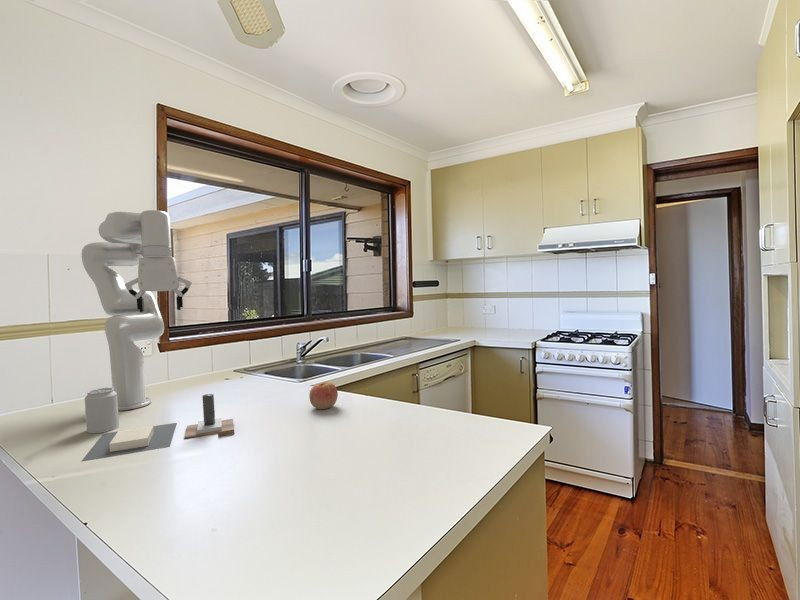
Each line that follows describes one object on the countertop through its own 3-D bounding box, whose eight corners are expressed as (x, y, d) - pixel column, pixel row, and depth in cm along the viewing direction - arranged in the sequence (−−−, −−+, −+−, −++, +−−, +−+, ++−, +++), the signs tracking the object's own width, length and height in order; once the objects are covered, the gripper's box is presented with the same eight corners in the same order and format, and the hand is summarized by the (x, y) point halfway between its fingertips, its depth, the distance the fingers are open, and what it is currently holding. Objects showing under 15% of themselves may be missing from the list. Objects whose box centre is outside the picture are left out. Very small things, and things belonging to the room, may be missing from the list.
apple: (342, 408, 133) (341, 383, 133) (316, 414, 128) (315, 388, 128) (330, 402, 140) (329, 378, 140) (305, 407, 135) (304, 383, 135)
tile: (118, 430, 110) (109, 443, 101) (153, 425, 114) (147, 437, 104) (118, 438, 111) (109, 452, 101) (153, 433, 114) (148, 446, 105)
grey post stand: (198, 424, 118) (196, 393, 118) (221, 421, 121) (219, 390, 120) (197, 434, 111) (195, 400, 110) (221, 430, 113) (219, 397, 113)
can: (102, 436, 115) (99, 393, 114) (80, 435, 116) (77, 393, 116) (125, 427, 122) (123, 386, 122) (104, 426, 124) (101, 386, 123)
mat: (103, 436, 115) (103, 433, 115) (177, 425, 122) (177, 422, 122) (81, 464, 97) (81, 461, 97) (169, 449, 104) (169, 446, 104)
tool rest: (187, 429, 118) (187, 425, 118) (233, 422, 123) (232, 418, 123) (184, 442, 109) (184, 437, 109) (234, 433, 114) (234, 429, 113)
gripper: (120, 252, 117) (124, 313, 118) (189, 252, 124) (192, 309, 125) (125, 254, 124) (129, 312, 125) (190, 253, 131) (193, 308, 132)
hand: (160, 310), depth 125 cm, fingers open, 9 cm apart
